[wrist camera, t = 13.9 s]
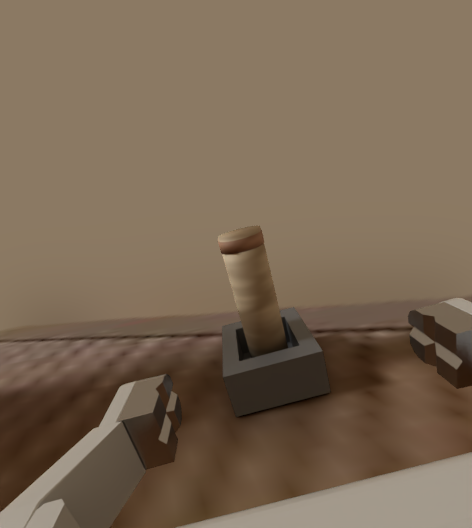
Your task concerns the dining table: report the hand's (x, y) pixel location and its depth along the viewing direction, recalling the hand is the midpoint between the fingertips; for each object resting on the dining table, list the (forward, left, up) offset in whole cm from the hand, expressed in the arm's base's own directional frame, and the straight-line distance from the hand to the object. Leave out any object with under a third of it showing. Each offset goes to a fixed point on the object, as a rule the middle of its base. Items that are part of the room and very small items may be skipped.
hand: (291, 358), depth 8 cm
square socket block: (0, +14, -12) cm, 18 cm away
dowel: (0, +14, -11) cm, 17 cm away
